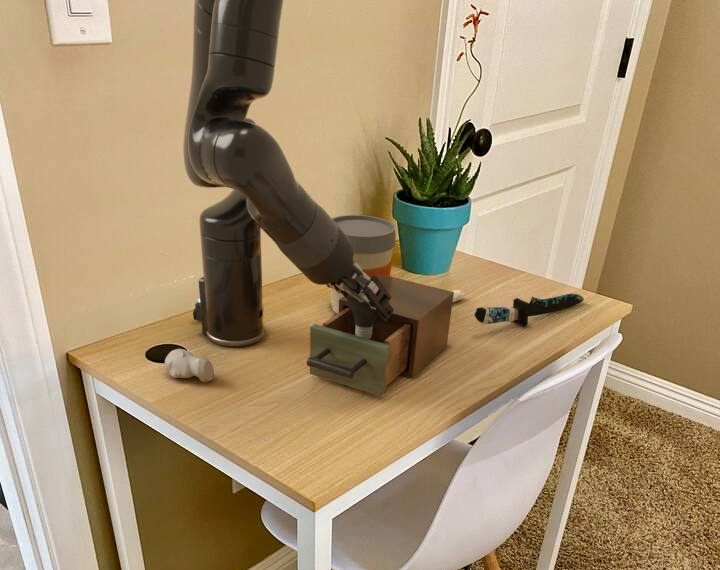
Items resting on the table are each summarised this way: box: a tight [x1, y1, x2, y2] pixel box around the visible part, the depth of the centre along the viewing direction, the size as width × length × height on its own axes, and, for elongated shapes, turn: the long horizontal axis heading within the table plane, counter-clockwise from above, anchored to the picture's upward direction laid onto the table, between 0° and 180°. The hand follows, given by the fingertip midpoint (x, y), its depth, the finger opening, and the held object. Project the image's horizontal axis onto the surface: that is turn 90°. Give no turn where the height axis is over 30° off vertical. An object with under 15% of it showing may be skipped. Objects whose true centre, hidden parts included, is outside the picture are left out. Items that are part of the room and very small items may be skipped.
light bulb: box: [347, 275, 381, 339], centre depth 109 cm, size 6×6×10 cm
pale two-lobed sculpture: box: [164, 348, 215, 383], centre depth 112 cm, size 4×8×5 cm
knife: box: [474, 293, 585, 327], centre depth 136 cm, size 31×3×4 cm, turn 125°
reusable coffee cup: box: [329, 214, 397, 314], centre depth 133 cm, size 12×13×15 cm
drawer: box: [306, 307, 413, 397], centre depth 112 cm, size 18×12×8 cm
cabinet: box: [339, 274, 454, 379], centre depth 121 cm, size 14×14×10 cm
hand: (373, 308), depth 110 cm, fingers closed on light bulb, 5 cm apart
